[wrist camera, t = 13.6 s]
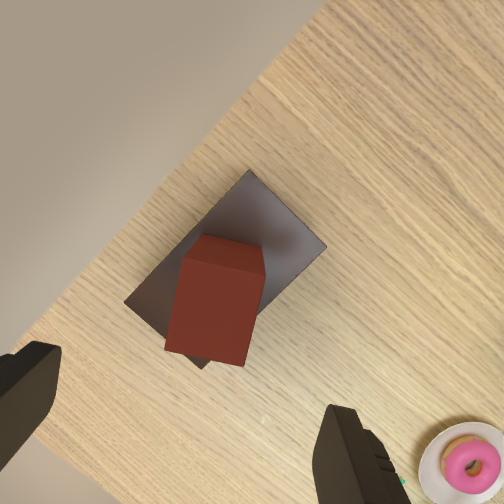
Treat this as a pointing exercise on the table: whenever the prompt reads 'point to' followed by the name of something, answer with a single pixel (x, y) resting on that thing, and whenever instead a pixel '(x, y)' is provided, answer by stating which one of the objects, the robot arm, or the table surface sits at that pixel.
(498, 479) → the donut
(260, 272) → the red rectangular block
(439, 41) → the table surface
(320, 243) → the block
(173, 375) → the table surface
